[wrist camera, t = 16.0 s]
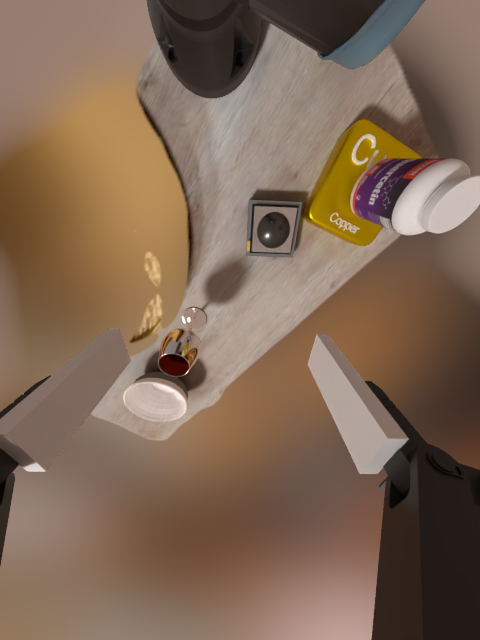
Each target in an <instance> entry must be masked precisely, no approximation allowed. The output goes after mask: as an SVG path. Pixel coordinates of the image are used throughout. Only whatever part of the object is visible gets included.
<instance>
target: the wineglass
mask: <svg viewBox="0 0 480 640" xmlns="http://www.w3.org/2000/svg"><path fill="white" fill-rule="evenodd" d="M183 321H184V323H185V324H186V325H187V326H189V328H188V329H187V328H177V329H174V330H172V331H170V332H169V333H167V334H166V335H165V337H164V338H163V340H162V343H161V347H160V353H159V359H158V366H159V368H160V370H161V371H162V372H164V373H165V374H167V375H170V376H174V377H179V376H183V375H185V374H187V373H188V371H189V370H190V369H191V367H192V366H193V365H194V364H195V362H196V361H197V359H198V358H199V356H200V354H201V351H202V342H201V340H200V338H199V336H198V335H197V334H196V333H195V332H194V331H192V328H201V327H203V326H204V325H205V323H206V315H205V313H204V312H203V311H202V310H200V309H198V308H188V309H187V310H185V311H184V313H183Z"/></svg>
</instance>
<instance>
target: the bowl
mask: <svg viewBox="0 0 480 640" xmlns="http://www.w3.org/2000/svg"><path fill="white" fill-rule="evenodd" d="M187 398H188V393H187V390H186V387H185V385H184V383H183V382H182V381H181V380H180V379H178V378H177V377H174V376H170V375H167V374H165V373H164V372H151V373H147V374H145V375H143V376H141V377H139V378H138V379H136V381H135V382H134V383H133V384H132V385H130V386H129V387H128V388H127V389H126V390H125V392H124V396H123V400H124V403H125V405H126V407H127V408H128V409H129V410H130V411H131V412H132V413H134V414H135V415H137V416H139V417H141V418H143V419H146V420H150V421H155V422H168V421H173V420H176V419H178V418H180V417H181V416H183V415H184V414H185V412H186V411H187V408H188V403H187Z"/></svg>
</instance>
